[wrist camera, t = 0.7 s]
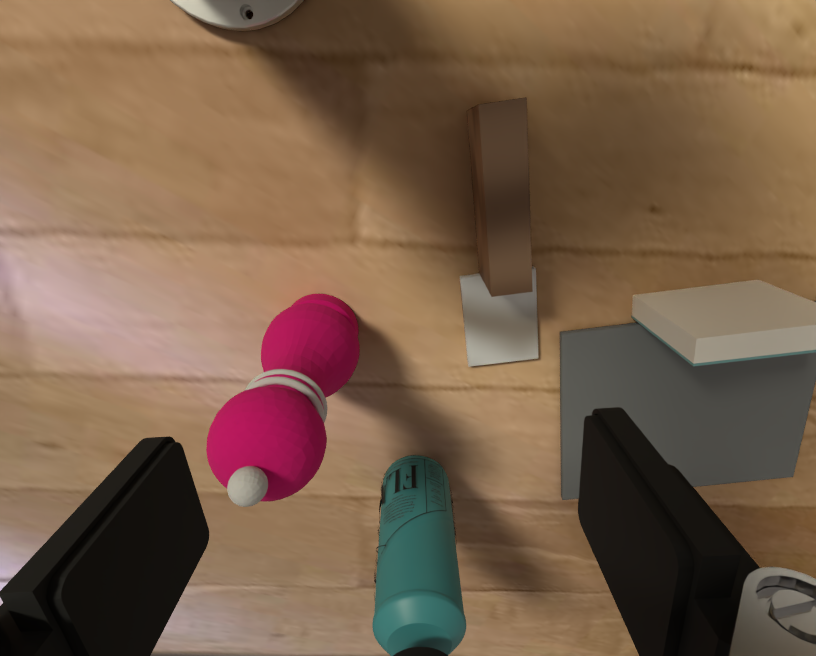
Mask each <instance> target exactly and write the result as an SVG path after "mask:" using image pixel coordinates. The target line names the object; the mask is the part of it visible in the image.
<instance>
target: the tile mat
mask: <svg viewBox="0 0 816 656" xmlns="http://www.w3.org/2000/svg"><path fill="white" fill-rule="evenodd" d="M814 302H816V301H814ZM815 381H816V352H814V353H806V354H797V355H788V356H780V357H771V358H762V359H753V360H745V361H736V362H727V363H718V364H710V365H701V366H692V365H691V364H690V363H688V362H687V361H686V360H685V359H683V358H682V357H681V356H680V355H678V354H677V353H676V352H675V351H673V350H672V349H671V348H669V347H668V346H667V345H666V344H664V343H663V342H662V341H661V340H659V339H658V338H657V337H656V336H654V335H653V334H652V333H651V332H649V331H648V330H647V329H645V328H644V327H643V326H642V325H640V324H639V323H638V322H637V323H629V324H621V325H613V326H604V327H596V328H588V329H579V330H571V331H563V332H560V419H561V497H562V500H568V499H578V498H579V487H580V473H581V458H582V444H583V429H584V419H585V417H586V416H589V415H592V412H593V410H594V409H597V408H613V407H621V408H623V409H624V410H625V412H626V413H627V414H628V415H629V417H630V418H631V419H632V420H633V422H634V423H635V424H636V425H637V426H638V428H639V429H640V430H641V431H642V433H643V434H644V435H645V436H646V438H647V439H648V440H649V441H650V443H651V444H652V445H653V446H654V447H655V449H656V450H657V451H658V452H659V454H660V455H661V456H662V457H663V459H664V460H665V461H666V462H667V464H670V465H673V466H675V467H676V468H677V469H678V470H679V471H680V472H681V473H682V474H683V476H684V477H685V478H686V479H687V480H688V482H689V483H690V484H691V485H692V487H697V486H707V485H717V484H726V483H736V482H746V481H756V480H766V479H776V478H786V477H793V475H794V471H795V466H796V462H797V458H798V454H799V449H800V445H801V441H802V437H803V432H804V428H805V424H806V419H807V415H808V411H809V407H810V402H811V398H812V394H813V390H814V385H815Z"/></svg>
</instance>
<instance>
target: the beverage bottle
mask: <svg viewBox="0 0 816 656" xmlns="http://www.w3.org/2000/svg"><path fill="white" fill-rule="evenodd" d="M384 475H385V477H384V478H382V479H383V484H382V487H381V488H382V494H381V496H382V499H381V501H380V507H381V520H380V521H379V522H380V528H379V529H380V532H379V533H380V534H379V548H378V547H377V548H378V551H377V550H376V551H377V552H378V562H377V566H376V567H377V576H376V577H374V582H375V584H376V597H375V596H374V598H375V614H374V618H373V632H374V636H375V638H376V640H377V641H378V643H379V644H380V645H381V647H382V648H383V649H384V650H385V651H386V652H387V653H389V654H390V655H391V656H448V655H449V654H450V653H451V652H452V651H453V650H454V649H455V648H456V647H457V646H458V645H459V643H460V642H461V641H462V639H463V637H464V635H465V631H466V619H465V615H464V610H463V602H462V594H461V586H460V578H459V569H458V561H457V553H456V545H455V535H456V534H455V532H456V531H454V529H455V527H454V526H455V525H454V522H453V516H454V515H453V514H452V512H453V511H452V508H453V506H452V504H451V502H452V503H453V501H451V497H452V496H451V497H450V495H451V494H450V491H452V490H450V488H449V480H448V477H447V474H446V472H445V471H444V469H443V468H442V466H441V465H440V464H439V463H437V462H436V461H435V460H433V459H431V458H428V457H425V456H417V455H413V456H406V457H403V458H401V459H399V460H397V461H395V462H394V463H393V464H392V465H391V466H390V467H389V468H388V470H387V471H386V474H384ZM381 483H382V482H381ZM452 499H453V498H452ZM381 504H382V505H381ZM379 512H380V508H379ZM455 524H456V523H455ZM378 531H379V530H378ZM456 542H457V539H456ZM377 548H376V549H377ZM376 560H377V559H376ZM375 562H376V561H375ZM375 571H376V570H375ZM374 574H375V573H374ZM374 576H375V575H374Z"/></svg>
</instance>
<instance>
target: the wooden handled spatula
mask: <svg viewBox="0 0 816 656" xmlns="http://www.w3.org/2000/svg"><path fill="white" fill-rule="evenodd" d="M467 121H468V134H469V147H470V159H471V172H472V185H473V198H474V211H475V224H476V237H477V250H478V263H479V274H472V275H464V276H460V286H461V296H462V307H463V318H464V328H465V339H466V350H467V360H468V366H469V367H470V366H478V365H487V364H495V363H504V362H512V361H521V360H529V359H538V327H537V292H536V268H535V267H532V258H531V226H530V194H529V163H528V131H527V99H526V98H519V99H513V100H506V101H499V102H493V103H486V104H479V105H477V106H475V107H473V108H471V109H469V110H468V111H467Z"/></svg>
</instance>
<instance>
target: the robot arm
mask: <svg viewBox="0 0 816 656" xmlns="http://www.w3.org/2000/svg"><path fill="white" fill-rule="evenodd" d="M170 1H171V2H172V3H174V4H175V5H177V6H178V7H179V8H181V9H182V10H184V11H185V12H187V13H188V14H189V15H191V16H193V17H195V18H197V19H199V20H200V21H202V22H204V23H207V24H210V25H213V26H216V27H219V28H222V29H228V30H236V31H247V30H256V29H261V28H264V27H267V26H270V25H272V24H275V23H277V22H279V21H280V20H282V19H283V18H285V17H286V16H288V15H290V14H291V13H292V12H293V11H294V10H295V9H296V8H297V7H298V6H299V5H300V4H301V3H302V2H303V1H304V0H170ZM250 11H251V12H253V17H252V19H248V13H249V12H250ZM578 514H579V520H580V523H581V526H582V528H583V531H584V533H585V535H586V537H587V540H588V542H589V544H590V546H591V548H592V551H593V553H594V555H595V557H596V560H597V562H598V564H599V566H600V569H601V571H602V573H603V575H604V578H605V580H606V582H607V584H608V587H609V589H610V591H611V593H612V595H613V598H614V600H615V602H616V604H617V607H618V609H619V611H620V613H621V616H622V618H623V620H624V622H625V625H626V627H627V629H628V631H629V634H630V636H631V638H632V640H633V642H634V645H635V647H636V649H637V651H638V654H639V656H816V579H814V578H812V577H810V576H808V575H806V574H803V573H800V572H796V571H793V570H790V569H785V568H777V567H767V568H760V567H759V566H758V565H757V564H756V563H755V561H754V560H753V559H752V558H751V557H750V555H749V554H748V553H747V552H746V551H745V549H744V548H743V547H742V546H741V544H740V543H739V542H738V541H737V540H736V538H735V537H734V536H733V535H732V534H731V532H730V531H729V530H728V529H727V528H726V526H725V525H724V524H723V523H722V522H721V520H720V519H719V518H718V517H717V515H716V514H715V513H714V512H713V511H712V509H711V508H710V507H709V506H708V505H707V503H706V502H705V501H704V500H703V499H702V497H701V496H700V495H699V494H698V493H697V491H696V490H695V489H694V488H693V487H692V485H691V484H690V483H689V482H688V480H687V479H686V478H685V477H684V476H683V474H682V473H681V472H680V471H679V470H678V469H677V468H676V467H675V466H673V465H670V464H667V462H666V461H665V460H664V459H663V457H662V456H661V455H660V454H659V452H658V451H657V450H656V449H655V447H654V446H653V445H652V444H651V443H650V441H649V440H648V439H647V438H646V436H645V435H644V434H643V433H642V431H641V430H640V429H639V428H638V426H637V425H636V424H635V423H634V422H633V420H632V419H631V418H630V417H629V415H628V414H627V413H626V412H625V410H624V409H623V408H621V407H613V408H597V409H594V410H593V412H592V415H589V416H586V417H585V419H584V429H583V444H582V458H581V473H580V487H579V502H578ZM208 540H209V529H208V526H207V522H206V519H205V516H204V513H203V510H202V507H201V504H200V500H199V497H198V494H197V491H196V488H195V485H194V482H193V478H192V475H191V472H190V469H189V466H188V463H187V460H186V456H185V453H184V450H183V447H182V445H181V444H180V443H178V442H175V440H174V439H173V438H172V437H155V438H145V439H143V440H141V441H140V442H139V443H138V444H137V445H136V446H135V447H134V448H133V449H132V451H131V452H130V453H129V454H128V455H127V456H126V457H125V458H124V459H123V460H122V461H121V462H120V463H119V464H118V466H117V467H116V468H115V469H114V470H113V471H112V472H111V473H110V474H109V475H108V476H107V477H106V478H105V480H104V481H103V482H102V483H101V484H100V485H99V486H98V487H97V488H96V489H95V490H94V491H93V492H92V493H91V495H90V496H89V497H88V498H87V499H86V500H85V501H84V502H83V503H82V504H81V505H80V506H79V507H78V508H77V510H76V511H75V512H74V513H73V514H72V515H71V516H70V517H69V518H68V519H67V520H66V521H65V522H64V523H63V525H62V526H61V527H60V528H59V529H58V530H57V531H56V532H55V533H54V534H53V535H52V536H51V537H50V538H49V540H48V541H47V542H46V543H45V544H44V545H43V546H42V547H41V548H40V549H39V550H38V551H37V552H36V553H35V555H34V556H33V557H32V558H31V559H30V560H29V561H28V562H27V563H26V564H25V565H24V566H23V567H22V569H21V570H20V571H19V572H18V573H17V574H16V575H15V576H14V577H13V578H12V579H11V580H10V581H9V582H8V584H7V585H6V586H5V587H4V588H3V589H2V590H1V591H0V597H1V599H2V601H3V604H2V605H1V606H0V656H150V655H151V653H152V651H153V649H154V647H155V645H156V643H157V641H158V639H159V638H160V636H161V634H162V632H163V630H164V628H165V626H166V624H167V622H168V620H169V618H170V616H171V614H172V612H173V611H174V609H175V607H176V605H177V603H178V601H179V599H180V597H181V595H182V593H183V591H184V589H185V587H186V585H187V584H188V582H189V580H190V578H191V576H192V574H193V572H194V570H195V568H196V566H197V564H198V562H199V560H200V558H201V557H202V555H203V553H204V551H205V549H206V547H207V544H208Z"/></svg>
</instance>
